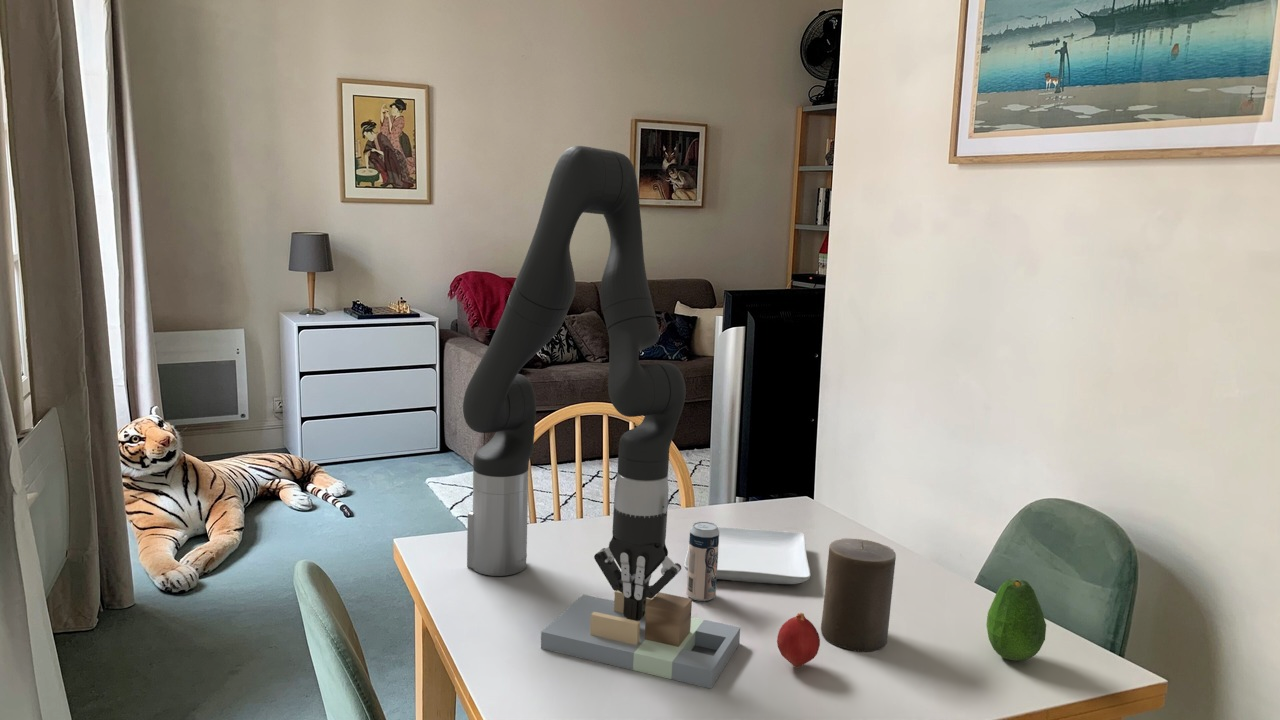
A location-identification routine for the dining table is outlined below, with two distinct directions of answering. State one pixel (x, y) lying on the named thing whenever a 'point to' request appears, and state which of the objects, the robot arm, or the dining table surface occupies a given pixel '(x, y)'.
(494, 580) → the dining table surface
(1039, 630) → the avocado
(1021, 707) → the dining table surface
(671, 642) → the block
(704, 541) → the beer can
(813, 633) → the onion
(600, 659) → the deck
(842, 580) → the pillar candle
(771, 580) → the salad plate
